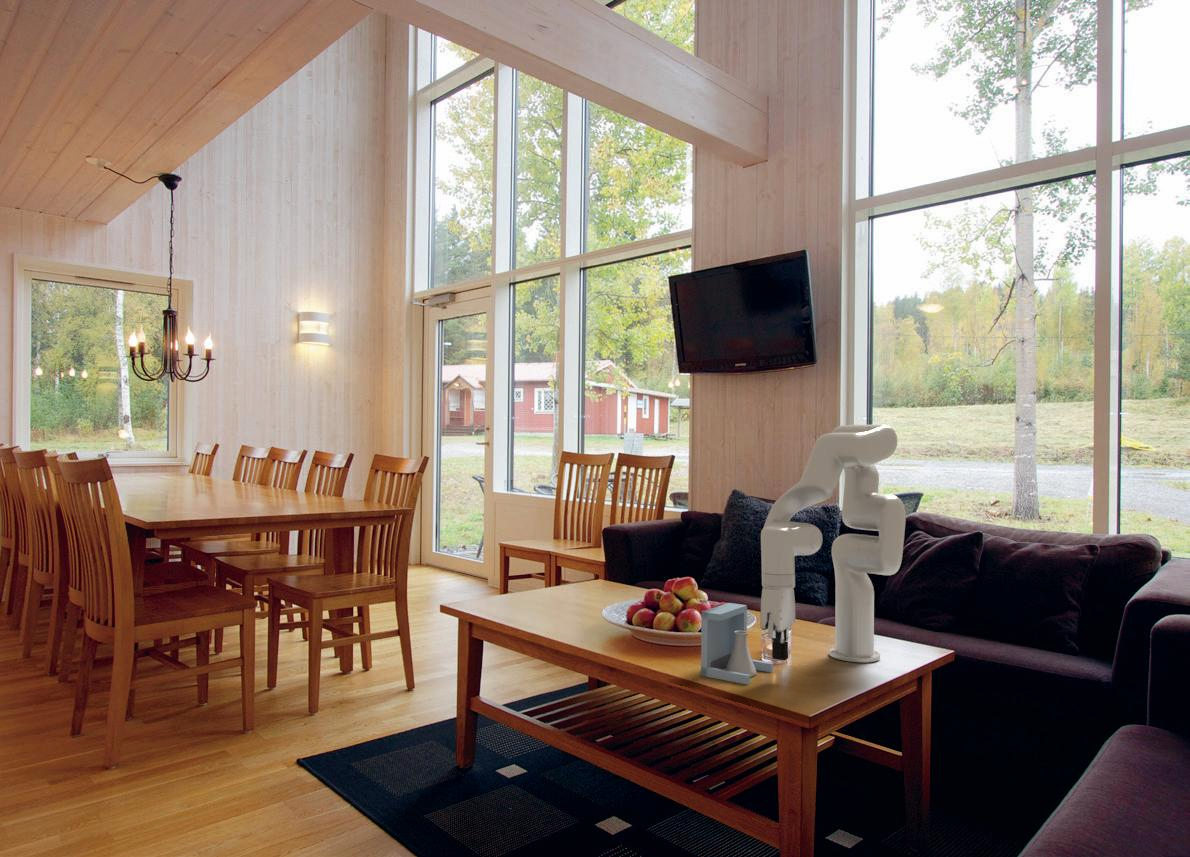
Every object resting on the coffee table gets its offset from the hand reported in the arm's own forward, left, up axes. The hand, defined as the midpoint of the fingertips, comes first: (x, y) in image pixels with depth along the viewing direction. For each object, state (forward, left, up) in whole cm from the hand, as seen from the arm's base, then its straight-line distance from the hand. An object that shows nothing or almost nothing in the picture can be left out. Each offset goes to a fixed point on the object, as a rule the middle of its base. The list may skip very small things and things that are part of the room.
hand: (780, 658), depth 189 cm
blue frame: (+1, -10, -5) cm, 11 cm away
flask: (+1, -10, -5) cm, 11 cm away
